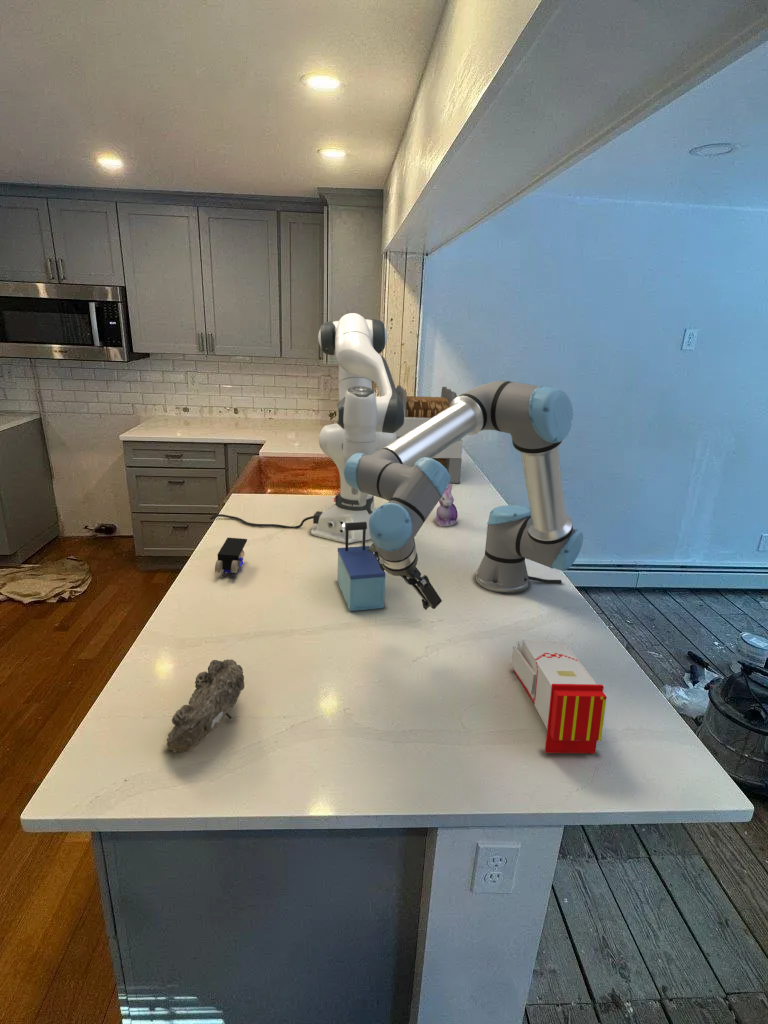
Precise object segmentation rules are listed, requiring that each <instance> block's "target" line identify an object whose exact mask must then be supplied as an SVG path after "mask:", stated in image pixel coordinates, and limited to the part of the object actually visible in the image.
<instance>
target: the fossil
mask: <svg viewBox="0 0 768 1024" xmlns="http://www.w3.org/2000/svg"><path fill="white" fill-rule="evenodd" d="M243 670H244V669H243V667H242V665H240V664H237V662H236V661H235V660H234V659H232V658H231V659H227V658H226V659H224V660H223V661H222V660H217V659H212V660H211V661H210V663H209V665H208V666H207V671H201V672H199V673H198V674H197V675H196V676H195V680H194V684H195V685H194V687H195V689H194V690H193V693H192V694H191V697H190V698H189V700H188V704H184V705H182V706H181V707H180V709H177V710H176V711H175V713H174V715H173V716H172V718H171V723H172V724H173V727H172V730H171V731H170V732H168V734H167V738H166V741H167V742H166V745H167V749H168V750H169V751H173V752H174V753H176V754H178V753H182V752H188V751H189V752H192V751H193V750H195V748H196V747H197V746H199V744H200V743H201V742H203V741H204V740H205V739H206V738H207V737H208V736H209V735H210V734H211V733H212V732H214V730H215V729H217V727H218V726H219V724H220V722H221V721H222V720H223V719H224V718H225V716H226V717H227V719H229V720H233V717H232V715H230V714H229V710H230V709H231V708H234V706H235V704H236V703H237V702H238V699H239V697H240V695H241V693H242V691H243V690H245V689H244V688H245V675H244V671H243Z"/></svg>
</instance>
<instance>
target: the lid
mask: <svg viewBox="0 0 768 1024" xmlns="http://www.w3.org/2000/svg"><path fill="white" fill-rule="evenodd" d="M366 529H367V523H366V522H353V523H345V531H346V538H345V543H344V547H337V554H338V553H339V556H340V558H341V560H342V562H343V564H344V566H345V568H346V571H347V573H348V575H349V577H350V579H362V578H374V577H385V578H386V575H387V574H386V573H387V572H386V570H384V571H382V570H381V568H380V565H379V563H378V559H377V558H375V557H374V554H375V553H374V552H372V553H371V552H369V551H368V548H369V547H370V546H371V545H366V540H365V537H366ZM351 530H363V539H362V541H361V542H362V544H361V545H360V546H359V545H358V546H349V543H348V532H349V531H351Z"/></svg>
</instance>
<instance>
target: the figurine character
mask: <svg viewBox="0 0 768 1024" xmlns="http://www.w3.org/2000/svg"><path fill="white" fill-rule="evenodd" d="M247 542H248V538H240V537H226V539H225V541H224V543H223V544H222V546H221V547H220V549H219V551H218V552H217V560H216V562H215V564H214V572H215V573H221V577H222V578H224V577H225V576H226V574H227V573H230V574H231V573H232V574H231V578H234V577H235V575H236V573H237V572H239V571H240V567H242V566H243V565H244V564H245V562H244V558H245V551H244V547H245V546H246V544H247Z"/></svg>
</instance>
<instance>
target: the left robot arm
mask: <svg viewBox="0 0 768 1024" xmlns="http://www.w3.org/2000/svg"><path fill="white" fill-rule="evenodd" d="M317 340H318V344H319V347H320V349H321V351H322V352H323V353H324V354H325V355H327V356H335V357H336V361H337V363H338V377H337V378H338V379H337V381H338V398H339V399H338V402H337V404H336V406H337V421H336V423H330V424H326V425H323V427H322V429H321V430H320V432H319V435H318V445H319V447H320V450H321V451H322V452H323V453H324V454H325V455H326V456H328V457H329V458H330V459H331V460H332V462H333V463H334V464H335V466H336V467H337V470H338V474H339V483H340V484H339V485H340V488H339V489H340V490H339V491H338V492H337V494H336V495H335V496H334V497H333V502H334V504H333V505H331V506H329V507H328V508H326V509H325V510H323V511H320V510H319V511H318V510H317V511H316V512H315V513H314V514H313V515H312V516H307V517H305V518H304V519H302V521H301V522H300V524H298V525H295V526H290V525H283V524H277V523H254V522H249V521H246V520H244V519H242V518H240V517H237V516H232V515H228V514H221V513H219V514H214V515H211V516H210V518H209V520H214V519H215V518H219V517H221V518H228V519H232V520H237V521H240V522H241V523H243V524H245V525H248V526H251V527H252V526H253V527H274V528H275V527H276V528H284V529H300V528H301V527H302V526H303V525H304V523H305V522H307V521H308V520H312V523H313V524H314V525H313V526H312V528H311V530H310V533H311V536H315V537H319V538H323V539H326V540H330V541H336V542H339V543H343V544H345V538H346V531H345V523H353V522H366V523H367V529H366V537H365V541H368V540H372V539H371V536H370V532H369V518H370V516H371V514H372V512H373V511H374V510H375V496H373V495H370V494H367V493H363V492H360V491H359V490H357V489H354V488H352V487H351V486H349V485H348V484H347V482H346V480H345V478H344V468H345V464H346V462H347V460H348V459H349V458H350V457H351V456H352V455H353V454H356V453H367V454H369V455H371V454H373V453H375V452H377V451H379V450H380V449H382V448H383V447H385V446H387V445H388V444H390V443H392V442H393V441H395V440H396V439H397V437H396V433H395V432H396V431H397V430H398V429H400V428H401V427H402V426H403V424H404V418H405V411H404V407H403V404H402V401H401V399H400V398H399V396H398V393H397V390H396V388H397V386H396V384H395V381H394V378H393V375H392V373H391V370H390V367H389V364H388V362H387V360H386V358H385V357H384V356H383V355H381V353H382V352H383V351H384V350H385V348H386V345H387V342H388V331H387V328H386V326H385V323H384V322H383V321H382V320H380V319H375V318H371V319H367V318H365V317H364V316H362V315H361V314H359V313H355V312H350V313H346V314H344V315H343V316H341V317H340V319H339V320H335V321H332V320H329V321H326V322H323V323H322V324H321V325H320V328H319V331H318V334H317ZM372 382H374V383H375V384H376V386H377V387H378V390H379V394H380V396H377V395H376V391H375V389H373V383H372ZM362 539H363V530H351V531H349V532H348V544H352V543H357V542H362Z"/></svg>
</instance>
